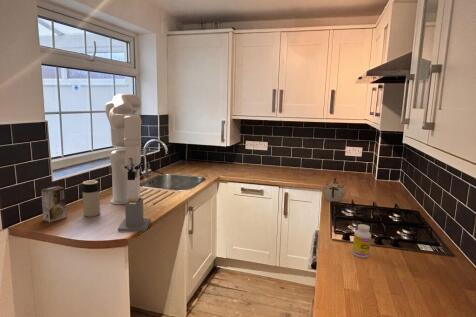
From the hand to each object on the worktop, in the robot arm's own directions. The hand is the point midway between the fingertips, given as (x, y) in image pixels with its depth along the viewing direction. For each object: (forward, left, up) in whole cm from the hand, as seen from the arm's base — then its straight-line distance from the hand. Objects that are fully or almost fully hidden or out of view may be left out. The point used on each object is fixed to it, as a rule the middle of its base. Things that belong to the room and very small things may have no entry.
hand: (133, 177), depth 152 cm
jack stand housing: (0, 0, -25) cm, 25 cm away
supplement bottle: (+34, +101, -25) cm, 109 cm away
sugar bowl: (-41, +120, -25) cm, 129 cm away
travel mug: (-17, -26, -25) cm, 40 cm away
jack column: (0, 0, -16) cm, 16 cm away
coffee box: (-11, -42, -25) cm, 50 cm away
